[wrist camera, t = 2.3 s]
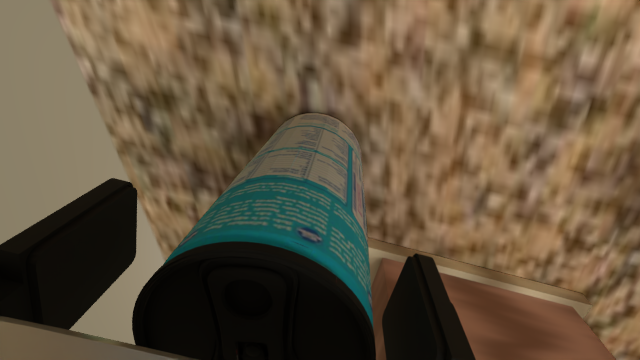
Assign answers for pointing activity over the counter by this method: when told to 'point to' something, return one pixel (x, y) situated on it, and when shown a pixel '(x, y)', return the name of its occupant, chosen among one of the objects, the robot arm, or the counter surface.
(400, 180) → the counter surface
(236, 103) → the counter surface
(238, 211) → the beverage can
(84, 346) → the robot arm
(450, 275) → the book rack
